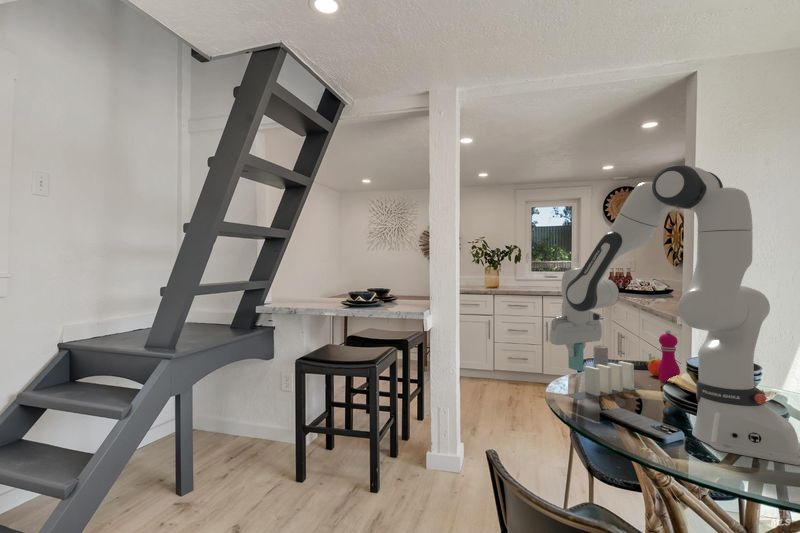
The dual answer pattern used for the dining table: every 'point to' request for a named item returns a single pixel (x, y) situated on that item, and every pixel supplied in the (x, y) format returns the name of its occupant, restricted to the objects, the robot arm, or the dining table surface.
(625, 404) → the dining table surface
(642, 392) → the dining table surface
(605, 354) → the energy drink
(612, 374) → the domino
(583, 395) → the mat
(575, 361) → the domino
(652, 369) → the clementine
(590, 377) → the domino
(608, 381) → the domino
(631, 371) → the domino
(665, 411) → the dining table surface
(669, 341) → the pepper mill
